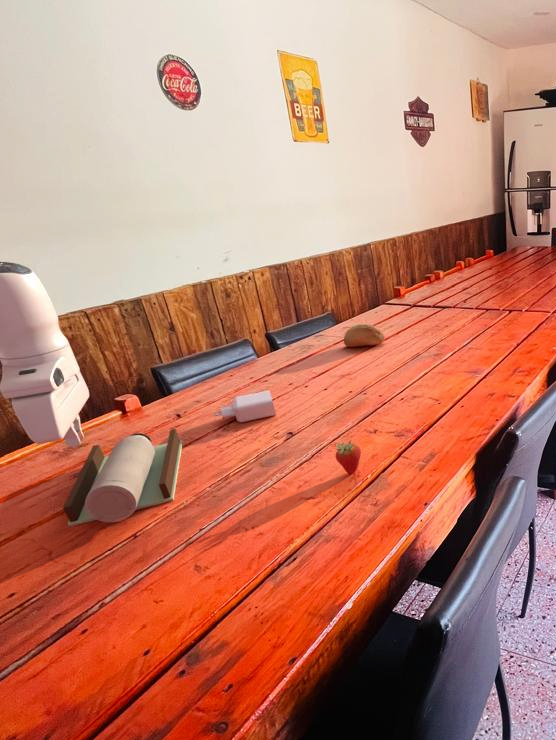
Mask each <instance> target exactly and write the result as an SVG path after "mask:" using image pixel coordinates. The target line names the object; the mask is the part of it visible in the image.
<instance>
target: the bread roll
mask: <svg viewBox="0 0 556 740" xmlns="http://www.w3.org/2000/svg"><path fill="white" fill-rule="evenodd" d="M384 341H385V334H384V333H383V332H382V330H381V329H380V328H379V327H377V326H376V325H373V324H370V323H369V324H368V323H361V324H360V323H359V324H355V325H353V326H351V327H350V328H348V329H347V330H346V332H345V334H344V337H343V343H344V345H345V347H348V348H355V347H364V346H372V345H373V346H375V345H380V344H382V343H383V342H384Z"/></svg>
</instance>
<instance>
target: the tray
mask: <svg viewBox="0 0 556 740" xmlns="http://www.w3.org/2000/svg"><path fill="white" fill-rule="evenodd" d="M153 447H154V449H155V458H154V461H153V463H152V466H151V469H150V471H149V474H148V477H147V480H146V482H145V484H144V486H143V489H142V493H141V496H140V499H139V501H138V504H137V507H136V509H135V511H137V510H141V509H145V508H149V507H153V506H157V505H161V504H166V503H169V502H173V501H175V494H176V487H177V482H178V476H179V475H178V474H179V469H180V463H181V455H182V450H183V449H182V448H183V440H181V439H180V437H179V434H178V431H177V429H176V428H174V429H173V428H172V429H170V430H169V434H168V439H167V442H166V443H163V444H162V443H161V444H158V445H157V444H156V445H153ZM108 457H109V455H106V456H105V455H104V453H103V451H102V447H101V446H100V444H96V445H93V446H92V448H91V450H90V452H89V453H88V456H87V457H86V459H85V462H84V464H83V466H82V467H81V470H80V472H79V474H78V476H77V478H76V480H75V481H74V484H73V486H72V489H71V491H70V492H69V494H68V497H67V498H66V501H65V502H64V505H63V507H62V508H63V511H64V512H65V515H66V517H67V518H68V522H67V527H73V526H77V525H82V524H86V523H90V522H94V521H98V520H97V519H95V518H93V517H92V516H91V515H90V514H89V513H88V512H87V510H86V508H85V499H86V497H87V495H88V493H89V492H90V490H91V488H92V486H93V484H94V482H95V481H96V479H97V477H98V475H99V473H100V471H101V470H102V468H103V466H104V464H105V462H106V460H107V459H108Z"/></svg>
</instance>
